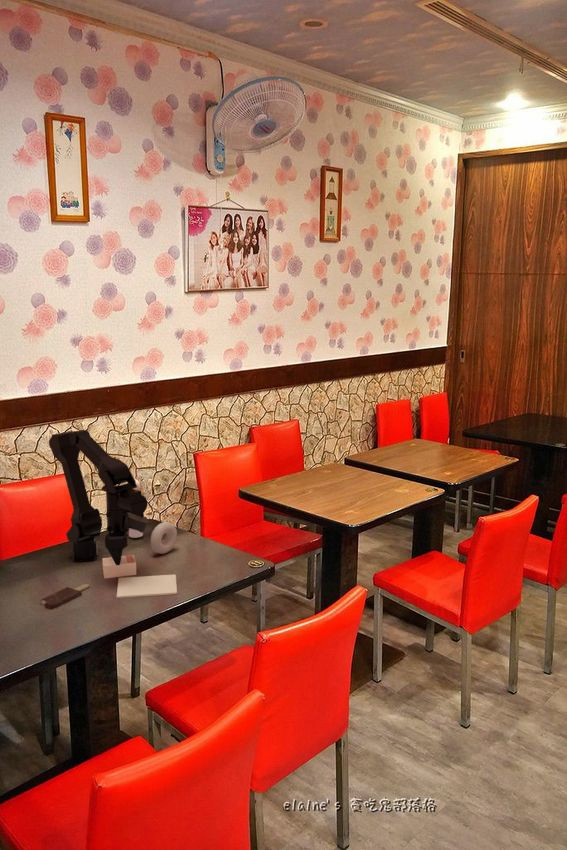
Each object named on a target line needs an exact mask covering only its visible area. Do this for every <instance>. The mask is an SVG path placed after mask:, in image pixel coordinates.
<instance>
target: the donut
mask: <svg viewBox="0 0 567 850" xmlns="http://www.w3.org/2000/svg"><path fill="white" fill-rule="evenodd" d="M164 534H165V535H166V536H165V539H164V541H163V542H162V538H163V536H164ZM177 539H178V532H177V528H176V526H175V525H174V524H173V523H172V522H168V521H164V522H161V523H159V524H157V525H156V526H155V528H154V529H153V531H152V532H151V535H150V542H149V543H150V546H151V548H152V550H153V551H154V552H155V553H157V554H161V555H164V554H167V553H168V552H170V551H171V550H172V549H173V548H174V547H175V544H176V542H177Z"/></svg>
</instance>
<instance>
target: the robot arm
mask: <svg viewBox="0 0 567 850" xmlns="http://www.w3.org/2000/svg"><path fill="white" fill-rule="evenodd" d="M48 446H49V448H50V450H51V452H52V454H53V455H52V456H53V457H54V458H55V459H56V460H57V461H58V462H59V463H60V464H61V466H62V471H63V474H64V478H65V482H66V486H67V490H68V493H69V496H70V497H69V498H70V501H71V504H72V508H73V511H72V512H71V513H72V514H71V517H70V522H71V523H70V524H71V526H70V528H69V529H68V530H67V532H66V533H65V535H66V539H67V542H68V541H69V542H71V543H72V551H73V558H72V562H74V563H75V562H90V561H96V557H97V556H98V541H97V540H96V538H98V537H100V536H101V532H102V529H103V528H102V527H103V519H102V518H101V517H102V516H101V513H100V510H99V509H98V508H94V507H93V506H92V505H91V503H90V500H89V496H88V491H87V488H86V484H85V480H84V477H83V474H82V469H81V466H80V462H79V456H80V453H82V454H83V455H84V456H85V457H86V458H87V459H88V461H89V462H91V463H92V464H93V465H94V467H95V468H96V469H97V475H98V479H100V480H101V482H102V483H103V484H104V485H102V487H101V491H104V492H105V501H106V513H105V516H106V522H107V523H106V524H107V525H106V532H108V533H107V534H106V535H105V537H104V547H105V548H106V549H107V551H108V553H109V554H110V557H112V558H113V560H114V562H115V564H116V565H120V562H121V556H123V555H122V554H123V550H124V549H125V548H127V547H128V546H129V528H130V529H134V530H137V531H139V532H142V533H143V534H144V533H145V531H146V528H147V525H148V520H149V519H148V517H147V516H145V512H146V511H147V508H148V499H147V498H146V496H145V495H143V494H142V493H141V491H140V490H135V489H134V488H137V485H136V483H135V482H136V481H135V479H136V478H134V476H133V474H132V472H131V470H130V468H129V465H127V464H126V463H124V461H122V460H121V459H119V458H116V457H112V456H111V455H110V454H108V452H107V451H106V450H104V449H103V447H102V446H101V445H100V444H99V443H98V442H97V441H96V440H94V438H93V437H92V436H91V435H90V432H89V431H88V430H86V429H80V430H75V431H72V430H71V431H65V432H59V433H55V434H54V433H53V434H52V435H51V437H50V439H49V441H48ZM127 533H128V534H127Z"/></svg>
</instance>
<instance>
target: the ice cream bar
mask: <svg viewBox="0 0 567 850" xmlns="http://www.w3.org/2000/svg"><path fill="white" fill-rule="evenodd" d="M89 587H90V584H88V583H84V584H81V585H80V586H78V587H76V588H72V587H69V586H66V587H64V588H62V589H60V590H59V591H56V592H54V593H52V594H50V595H48V596H45V597H43V598H41V599H40V605H44V607H45V608H46V609H48V610H55V609H54V608H56V609H58V608H59V606H60V607H62V606H63V604H64V605H66V604H67V603H70V602H71V601H74V600H75V599H77V598H80V597H81V596H83V594H82V593H83V592H82V591H84V590H86V589H88V588H89ZM65 603H66V604H65ZM61 605H62V606H61ZM57 607H58V608H57Z"/></svg>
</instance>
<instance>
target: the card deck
mask: <svg viewBox="0 0 567 850" xmlns="http://www.w3.org/2000/svg"><path fill="white" fill-rule="evenodd" d="M101 562H102V573H103V579H111V578H113V579H114V578H122V577H131V576H136V575H137V561H136V558H135V556H134V554H130V555H129V554H128V555H122V556H121V562H120V565H116V564H115V562H114V560H113V558H112V556H110V557H102V561H101Z"/></svg>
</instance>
